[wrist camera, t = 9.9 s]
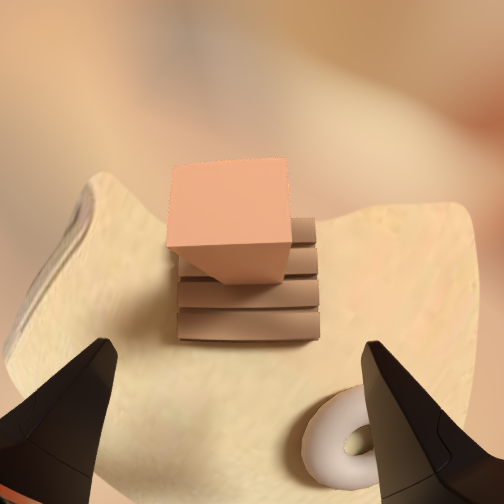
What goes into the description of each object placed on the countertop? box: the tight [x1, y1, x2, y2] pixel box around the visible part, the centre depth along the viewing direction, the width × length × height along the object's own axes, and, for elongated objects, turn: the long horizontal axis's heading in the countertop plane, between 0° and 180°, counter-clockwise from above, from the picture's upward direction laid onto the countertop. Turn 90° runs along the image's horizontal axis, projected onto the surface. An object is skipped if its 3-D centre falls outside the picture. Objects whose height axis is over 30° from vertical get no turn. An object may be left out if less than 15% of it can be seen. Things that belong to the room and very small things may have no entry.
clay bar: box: [166, 157, 292, 285], centre depth 14 cm, size 3×4×11 cm
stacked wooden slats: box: [177, 218, 320, 342], centre depth 20 cm, size 9×10×2 cm
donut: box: [301, 385, 379, 491], centre depth 16 cm, size 10×4×10 cm
